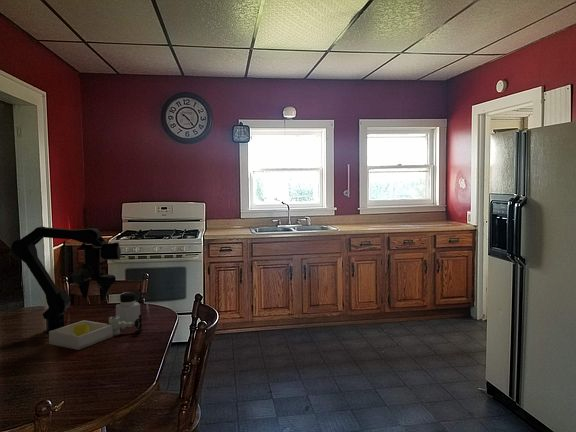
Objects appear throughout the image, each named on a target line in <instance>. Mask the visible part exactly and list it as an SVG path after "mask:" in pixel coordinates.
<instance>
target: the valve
mask: <svg viewBox="0 0 576 432" xmlns="http://www.w3.org/2000/svg"><path fill="white" fill-rule="evenodd" d="M119 321H120V317H118V316H116V315H115V316H109V318H108V324H109V325H112V326H113V337H115V336H119V335H120V334H121V330H124V329H125V328H127V327H128V328H130V327H133V326H134V327H135V329H137V330H138V332H140V333H141V332H143V328H142V327H143V324H142V323H143V322H142V321H143V318H142V314H140V315H139V319H137V320H136V321H135V322H133V323H132V322H128V323H126V322H125V321H122V322H119Z"/></svg>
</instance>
